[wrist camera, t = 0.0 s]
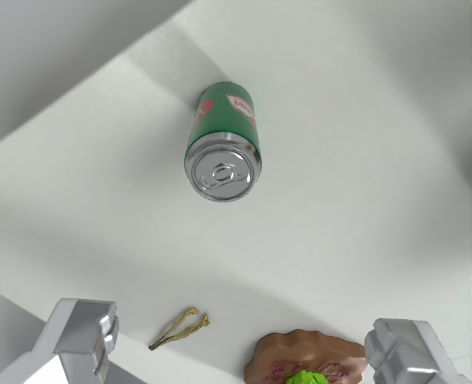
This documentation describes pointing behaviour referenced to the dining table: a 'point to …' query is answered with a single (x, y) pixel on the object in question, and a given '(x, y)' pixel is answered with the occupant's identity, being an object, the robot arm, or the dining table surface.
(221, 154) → the soda can
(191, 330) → the tongs
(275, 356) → the plant
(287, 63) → the dining table surface
